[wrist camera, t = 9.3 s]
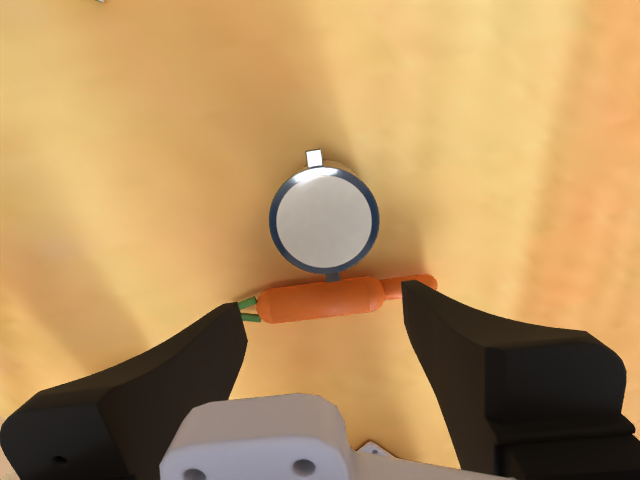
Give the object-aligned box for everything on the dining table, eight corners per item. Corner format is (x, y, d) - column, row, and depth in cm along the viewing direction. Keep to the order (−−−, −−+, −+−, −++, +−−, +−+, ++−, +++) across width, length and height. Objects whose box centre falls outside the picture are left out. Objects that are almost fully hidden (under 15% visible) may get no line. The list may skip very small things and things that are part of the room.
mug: (358, 141, 20) (372, 140, 14) (369, 242, 22) (385, 281, 16) (276, 154, 20) (254, 159, 14) (295, 253, 23) (282, 294, 16)
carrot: (235, 317, 24) (224, 336, 22) (227, 288, 24) (215, 305, 21) (432, 292, 23) (445, 310, 21) (431, 261, 23) (444, 276, 20)
